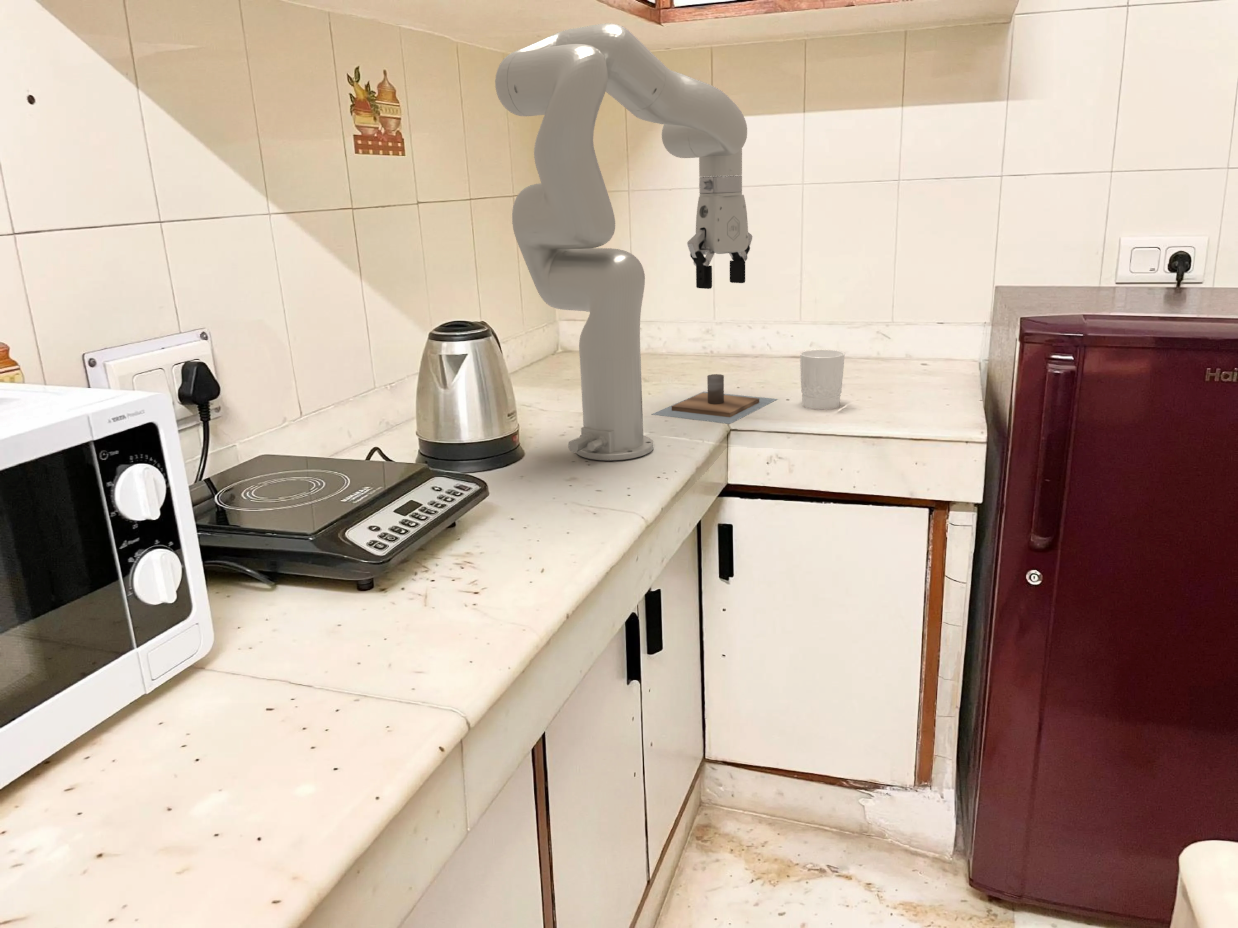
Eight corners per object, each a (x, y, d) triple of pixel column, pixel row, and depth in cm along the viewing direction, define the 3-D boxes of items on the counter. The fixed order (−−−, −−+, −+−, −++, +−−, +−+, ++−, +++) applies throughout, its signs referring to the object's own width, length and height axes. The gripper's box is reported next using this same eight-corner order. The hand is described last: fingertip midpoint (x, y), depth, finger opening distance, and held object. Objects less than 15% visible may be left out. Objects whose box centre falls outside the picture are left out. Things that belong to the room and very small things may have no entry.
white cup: (793, 410, 167) (794, 356, 164) (806, 400, 174) (807, 348, 171) (836, 413, 164) (838, 358, 161) (847, 403, 170) (849, 350, 167)
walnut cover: (730, 417, 163) (729, 385, 161) (671, 410, 169) (670, 379, 167) (759, 402, 172) (759, 372, 170) (702, 396, 178) (702, 367, 177)
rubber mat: (729, 426, 158) (729, 423, 158) (651, 416, 167) (651, 414, 167) (777, 401, 174) (777, 399, 174) (703, 393, 183) (703, 391, 183)
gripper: (706, 188, 154) (707, 291, 159) (766, 185, 165) (766, 281, 170) (672, 189, 159) (674, 289, 164) (733, 186, 170) (733, 280, 175)
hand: (721, 285), depth 167 cm, fingers open, 9 cm apart
